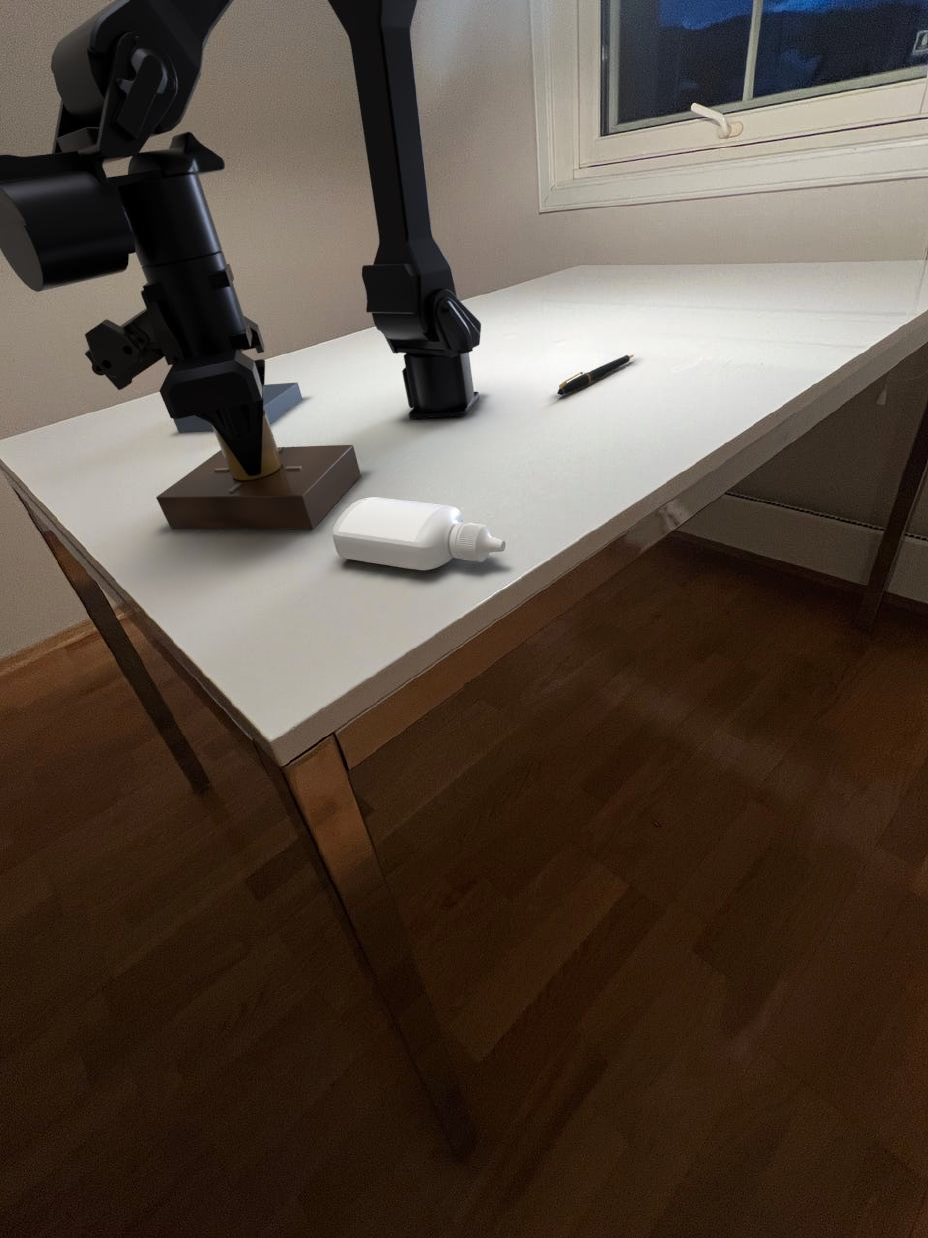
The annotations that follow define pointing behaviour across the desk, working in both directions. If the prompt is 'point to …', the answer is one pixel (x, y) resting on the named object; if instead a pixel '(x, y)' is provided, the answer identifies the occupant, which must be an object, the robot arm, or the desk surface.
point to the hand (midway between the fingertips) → (255, 464)
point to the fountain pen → (591, 375)
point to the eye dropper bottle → (410, 534)
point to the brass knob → (269, 455)
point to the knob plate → (263, 491)
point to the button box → (275, 405)
